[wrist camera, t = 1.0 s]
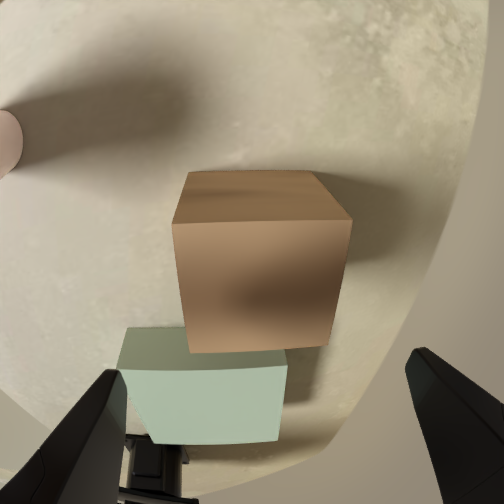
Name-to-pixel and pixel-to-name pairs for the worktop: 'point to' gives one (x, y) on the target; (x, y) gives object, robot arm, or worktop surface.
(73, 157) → the worktop surface
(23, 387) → the worktop surface
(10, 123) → the smoothie
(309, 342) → the walnut cube
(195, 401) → the sage box
